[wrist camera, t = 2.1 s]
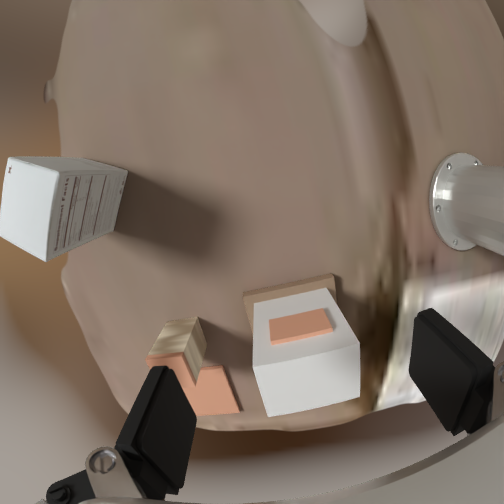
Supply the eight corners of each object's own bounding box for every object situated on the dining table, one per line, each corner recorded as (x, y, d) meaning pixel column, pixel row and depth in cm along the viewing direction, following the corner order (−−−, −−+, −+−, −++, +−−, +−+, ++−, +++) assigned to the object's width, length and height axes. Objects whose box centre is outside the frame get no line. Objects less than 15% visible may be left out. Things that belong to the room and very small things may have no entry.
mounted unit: (331, 273, 30) (371, 328, 18) (337, 332, 32) (370, 400, 20) (243, 292, 30) (235, 358, 19) (258, 350, 32) (258, 425, 20)
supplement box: (69, 214, 28) (-4, 236, 16) (82, 156, 26) (6, 153, 14) (115, 233, 29) (45, 265, 17) (131, 170, 27) (58, 170, 15)
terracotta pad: (222, 365, 33) (222, 367, 32) (239, 409, 35) (239, 412, 35) (154, 371, 34) (153, 374, 33) (177, 413, 36) (176, 416, 35)
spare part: (197, 316, 31) (181, 356, 24) (207, 344, 32) (195, 387, 25) (167, 321, 32) (145, 359, 24) (177, 348, 33) (160, 389, 25)
